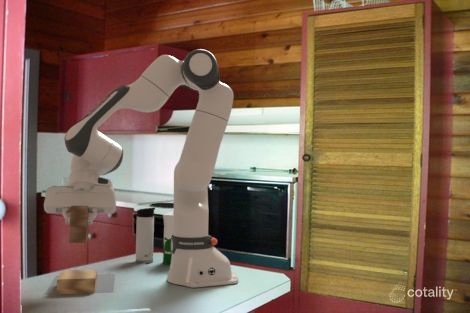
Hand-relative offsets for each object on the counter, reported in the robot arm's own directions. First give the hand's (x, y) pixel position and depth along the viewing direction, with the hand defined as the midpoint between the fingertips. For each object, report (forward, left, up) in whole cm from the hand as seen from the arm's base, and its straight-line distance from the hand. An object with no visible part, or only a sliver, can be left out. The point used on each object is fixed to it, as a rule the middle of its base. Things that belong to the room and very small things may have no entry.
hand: (78, 223), depth 132 cm
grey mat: (-1, -6, -19) cm, 20 cm away
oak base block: (0, -1, -19) cm, 19 cm away
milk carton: (-31, -32, -19) cm, 48 cm away
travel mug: (-20, -35, -19) cm, 44 cm away
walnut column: (0, -1, -5) cm, 5 cm away
